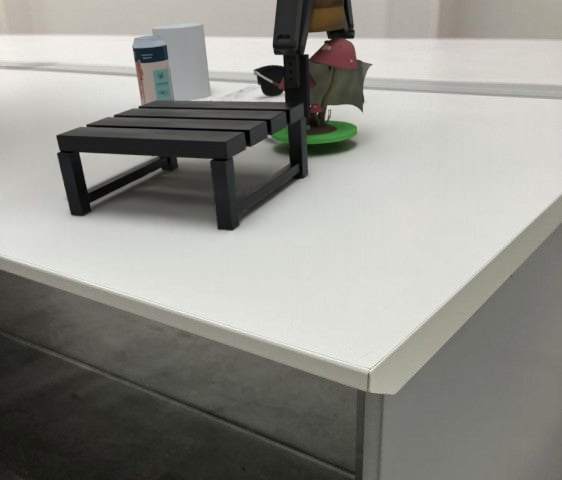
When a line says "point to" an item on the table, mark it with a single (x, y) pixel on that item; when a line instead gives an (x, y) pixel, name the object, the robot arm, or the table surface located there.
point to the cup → (186, 60)
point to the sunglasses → (271, 79)
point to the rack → (186, 147)
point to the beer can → (152, 69)
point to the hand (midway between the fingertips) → (318, 107)
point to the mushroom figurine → (331, 78)
